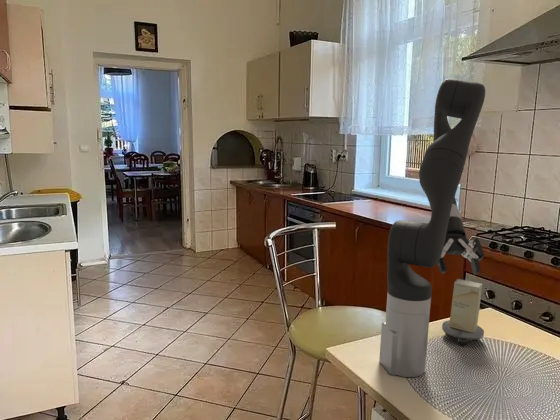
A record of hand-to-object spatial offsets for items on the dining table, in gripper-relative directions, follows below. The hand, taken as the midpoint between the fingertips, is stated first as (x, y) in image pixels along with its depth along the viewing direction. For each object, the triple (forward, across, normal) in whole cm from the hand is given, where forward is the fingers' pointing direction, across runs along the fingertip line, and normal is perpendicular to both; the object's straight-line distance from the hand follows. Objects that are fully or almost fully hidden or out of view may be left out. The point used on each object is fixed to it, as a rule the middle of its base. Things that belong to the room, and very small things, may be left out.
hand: (460, 272), depth 115 cm
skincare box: (+13, 0, +6) cm, 14 cm away
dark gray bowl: (+15, 0, +8) cm, 17 cm away
